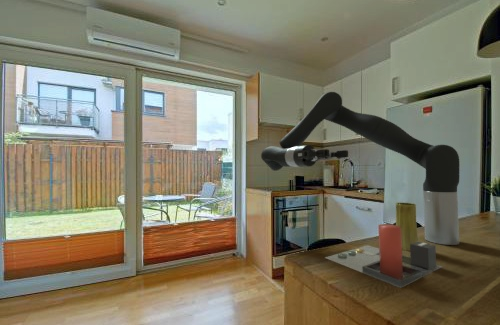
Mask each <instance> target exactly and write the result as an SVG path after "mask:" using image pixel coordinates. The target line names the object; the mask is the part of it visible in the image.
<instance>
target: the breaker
mask: <svg viewBox="0 0 500 325" xmlns="http://www.w3.org/2000/svg"><path fill="white" fill-rule="evenodd" d="M436 249H437V246H436V244H435V245H434V244H429V243H427V242H421V241H418V242H415V243H412V244H410V251H409V253H410V256H409V257H411V264H413V265H416V266H420V267H423V268H426V269H430V268H433V267H435V266H436V265H437V253H436V252H437V250H436Z"/></svg>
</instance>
